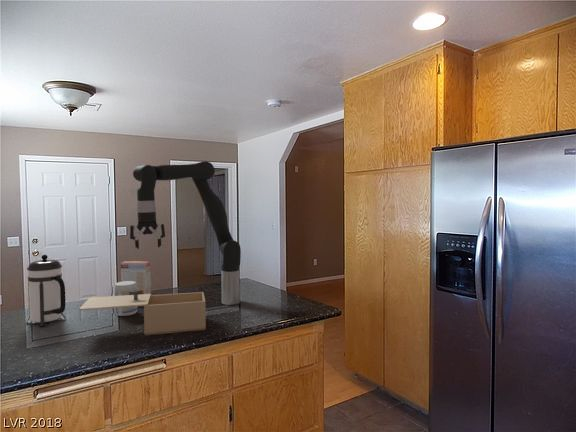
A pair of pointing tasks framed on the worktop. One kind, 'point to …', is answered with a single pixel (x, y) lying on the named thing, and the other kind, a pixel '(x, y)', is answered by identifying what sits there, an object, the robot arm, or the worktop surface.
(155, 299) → the carton
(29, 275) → the coffee press
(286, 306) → the worktop surface
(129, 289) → the supplement tub
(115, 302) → the carton lid
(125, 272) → the cracker box
